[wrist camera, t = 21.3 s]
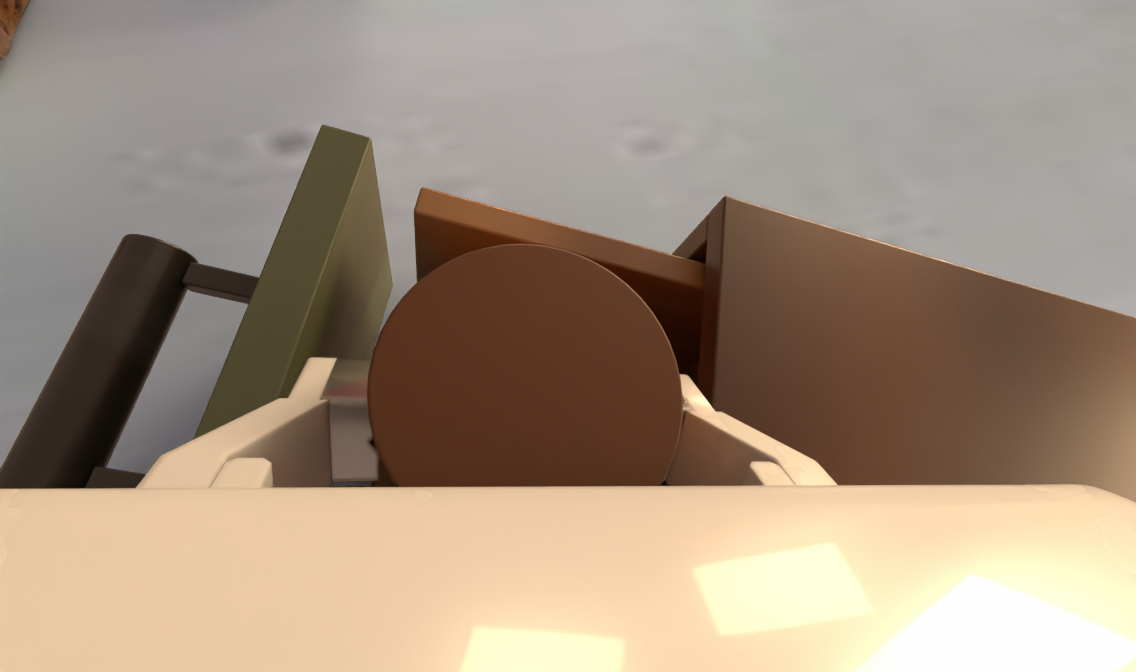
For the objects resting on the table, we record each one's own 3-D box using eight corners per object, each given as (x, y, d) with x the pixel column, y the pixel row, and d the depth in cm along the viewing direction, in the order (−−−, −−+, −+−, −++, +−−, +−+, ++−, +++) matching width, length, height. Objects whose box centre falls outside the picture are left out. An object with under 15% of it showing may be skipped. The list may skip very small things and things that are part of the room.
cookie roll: (581, 384, 17) (694, 282, 10) (556, 554, 15) (671, 582, 8) (421, 350, 16) (415, 209, 9) (374, 525, 14) (319, 526, 7)
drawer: (101, 617, 16) (-241, 716, 8) (254, 251, 20) (140, 71, 12) (653, 685, 19) (823, 807, 11) (680, 353, 24) (814, 262, 15)
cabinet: (552, 686, 19) (686, 863, 9) (602, 330, 24) (724, 194, 14) (907, 728, 22) (1312, 901, 12) (885, 398, 27) (1157, 323, 17)
